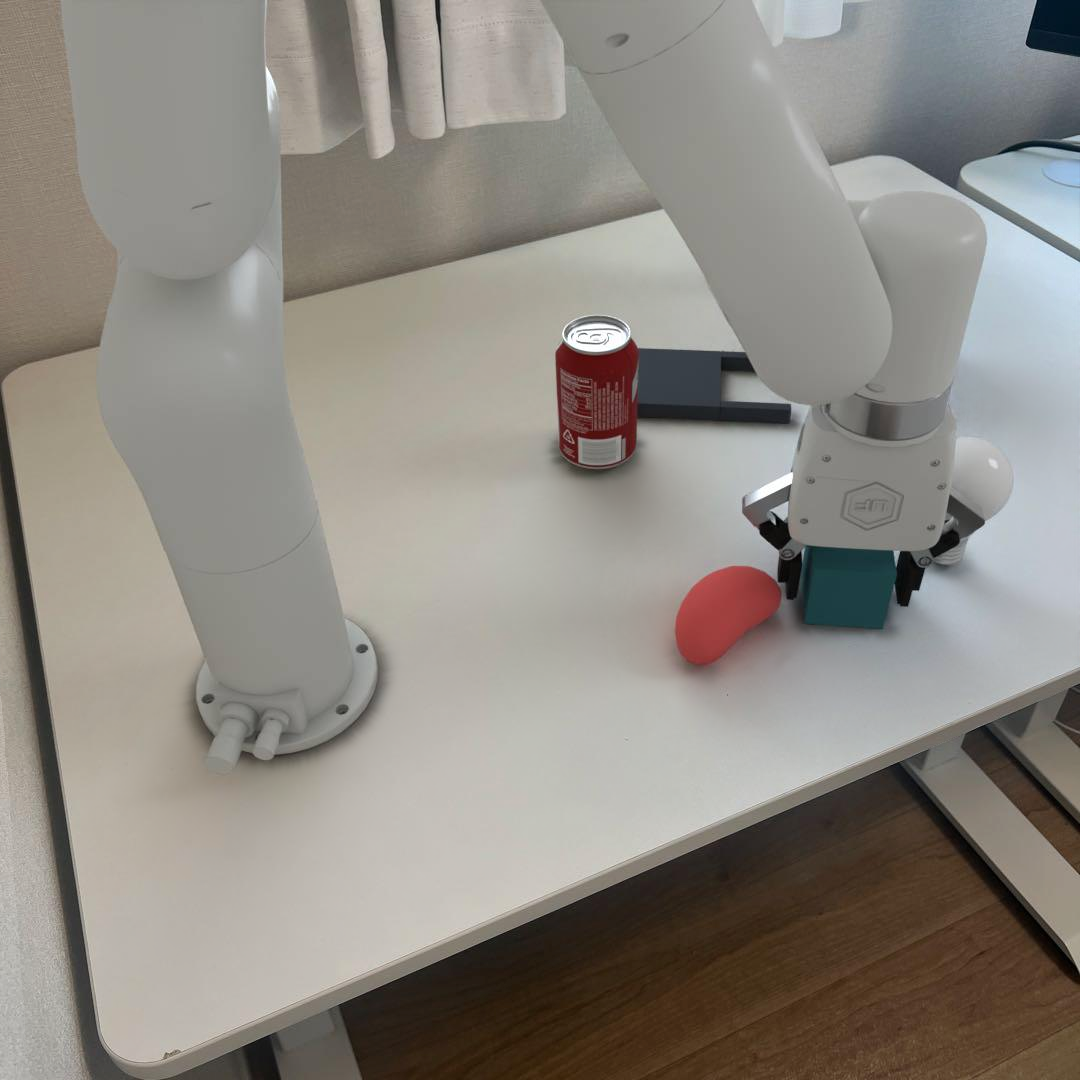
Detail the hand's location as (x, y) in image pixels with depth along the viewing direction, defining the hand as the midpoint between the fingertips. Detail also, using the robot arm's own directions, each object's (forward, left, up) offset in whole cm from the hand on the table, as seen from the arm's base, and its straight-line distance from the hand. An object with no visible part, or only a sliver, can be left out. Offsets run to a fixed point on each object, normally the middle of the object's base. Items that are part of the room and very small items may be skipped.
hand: (845, 588), depth 81 cm
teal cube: (0, 0, -1) cm, 1 cm away
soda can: (+16, +20, -1) cm, 26 cm away
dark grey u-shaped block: (+26, +12, -1) cm, 29 cm away
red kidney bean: (-4, +9, -1) cm, 10 cm away
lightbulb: (+5, -8, -1) cm, 9 cm away
